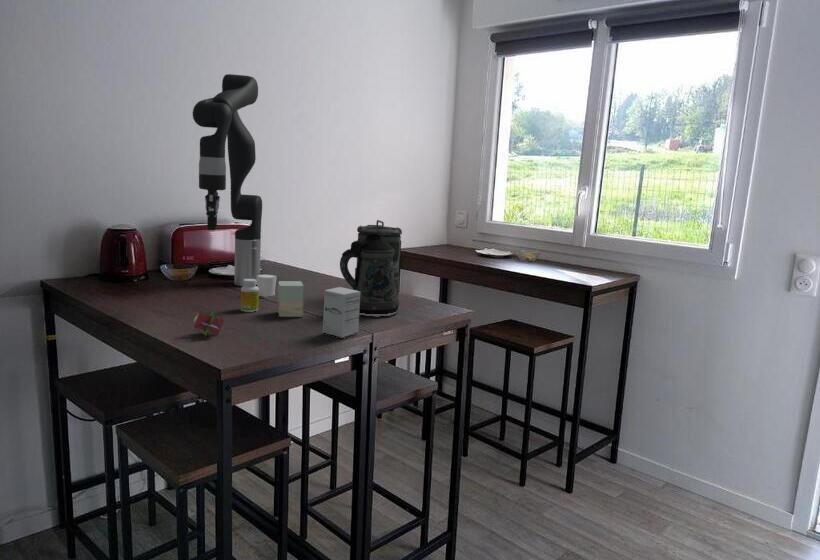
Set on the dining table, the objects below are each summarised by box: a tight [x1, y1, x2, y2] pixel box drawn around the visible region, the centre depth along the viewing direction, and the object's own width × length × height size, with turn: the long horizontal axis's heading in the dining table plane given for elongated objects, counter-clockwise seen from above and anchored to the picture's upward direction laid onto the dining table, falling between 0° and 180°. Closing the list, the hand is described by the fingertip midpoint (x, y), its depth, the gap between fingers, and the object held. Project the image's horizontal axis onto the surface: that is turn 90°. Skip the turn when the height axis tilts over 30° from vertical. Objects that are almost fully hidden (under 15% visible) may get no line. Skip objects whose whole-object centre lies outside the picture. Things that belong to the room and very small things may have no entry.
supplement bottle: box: [240, 279, 260, 313], centre depth 188 cm, size 5×5×10 cm
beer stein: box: [339, 235, 400, 314], centre depth 195 cm, size 16×19×25 cm
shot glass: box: [256, 273, 277, 298], centre depth 210 cm, size 7×7×7 cm
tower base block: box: [277, 298, 304, 317], centre depth 186 cm, size 7×7×5 cm
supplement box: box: [322, 286, 360, 337], centre depth 168 cm, size 7×7×13 cm
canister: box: [354, 219, 403, 298], centre depth 214 cm, size 16×16×28 cm
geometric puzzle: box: [193, 309, 225, 338], centre depth 160 cm, size 7×7×8 cm
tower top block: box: [277, 280, 305, 303], centre depth 186 cm, size 7×7×5 cm
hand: (212, 228), depth 180 cm, fingers open, 8 cm apart
